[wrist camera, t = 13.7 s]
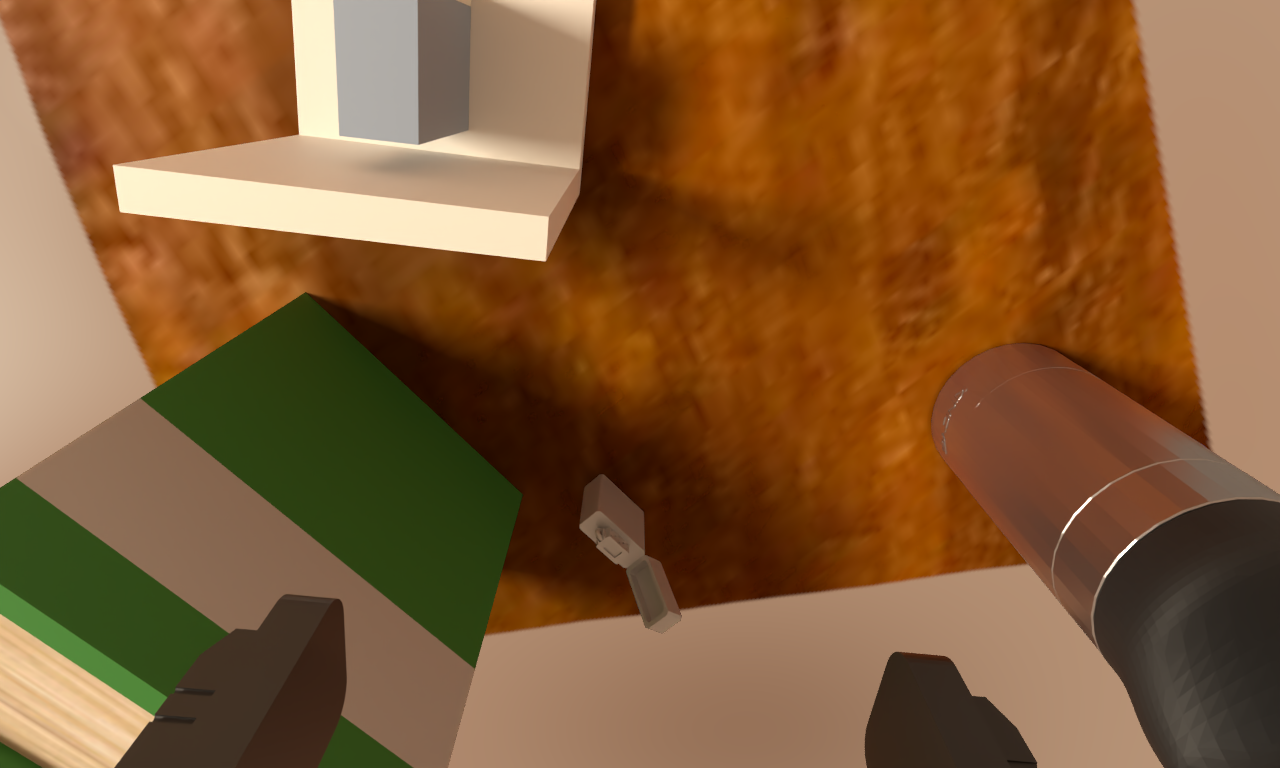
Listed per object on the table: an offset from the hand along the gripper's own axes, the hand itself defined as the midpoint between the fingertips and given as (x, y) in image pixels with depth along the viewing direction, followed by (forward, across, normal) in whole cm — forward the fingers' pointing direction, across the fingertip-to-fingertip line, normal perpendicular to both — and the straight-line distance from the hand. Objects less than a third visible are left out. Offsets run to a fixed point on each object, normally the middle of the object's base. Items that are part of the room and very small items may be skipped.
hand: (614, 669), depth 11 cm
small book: (+30, +10, -8) cm, 33 cm away
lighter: (+32, -2, +18) cm, 37 cm away
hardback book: (+32, +14, +14) cm, 38 cm away
